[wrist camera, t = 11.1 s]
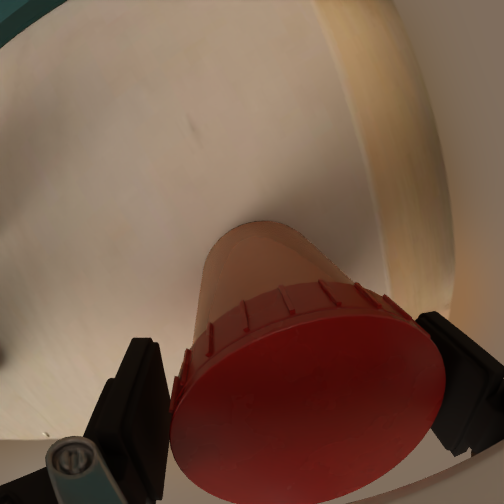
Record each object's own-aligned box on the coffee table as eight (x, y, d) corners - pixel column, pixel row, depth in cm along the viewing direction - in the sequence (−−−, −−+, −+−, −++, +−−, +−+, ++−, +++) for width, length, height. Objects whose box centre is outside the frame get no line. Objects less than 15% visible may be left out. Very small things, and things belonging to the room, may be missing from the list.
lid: (236, 486, 9) (239, 525, 7) (124, 340, 7) (104, 384, 5) (420, 415, 9) (443, 447, 7) (396, 233, 7) (440, 253, 5)
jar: (297, 201, 16) (411, 264, 6) (333, 305, 18) (427, 434, 8) (182, 249, 16) (131, 376, 6) (231, 347, 18) (245, 506, 8)
